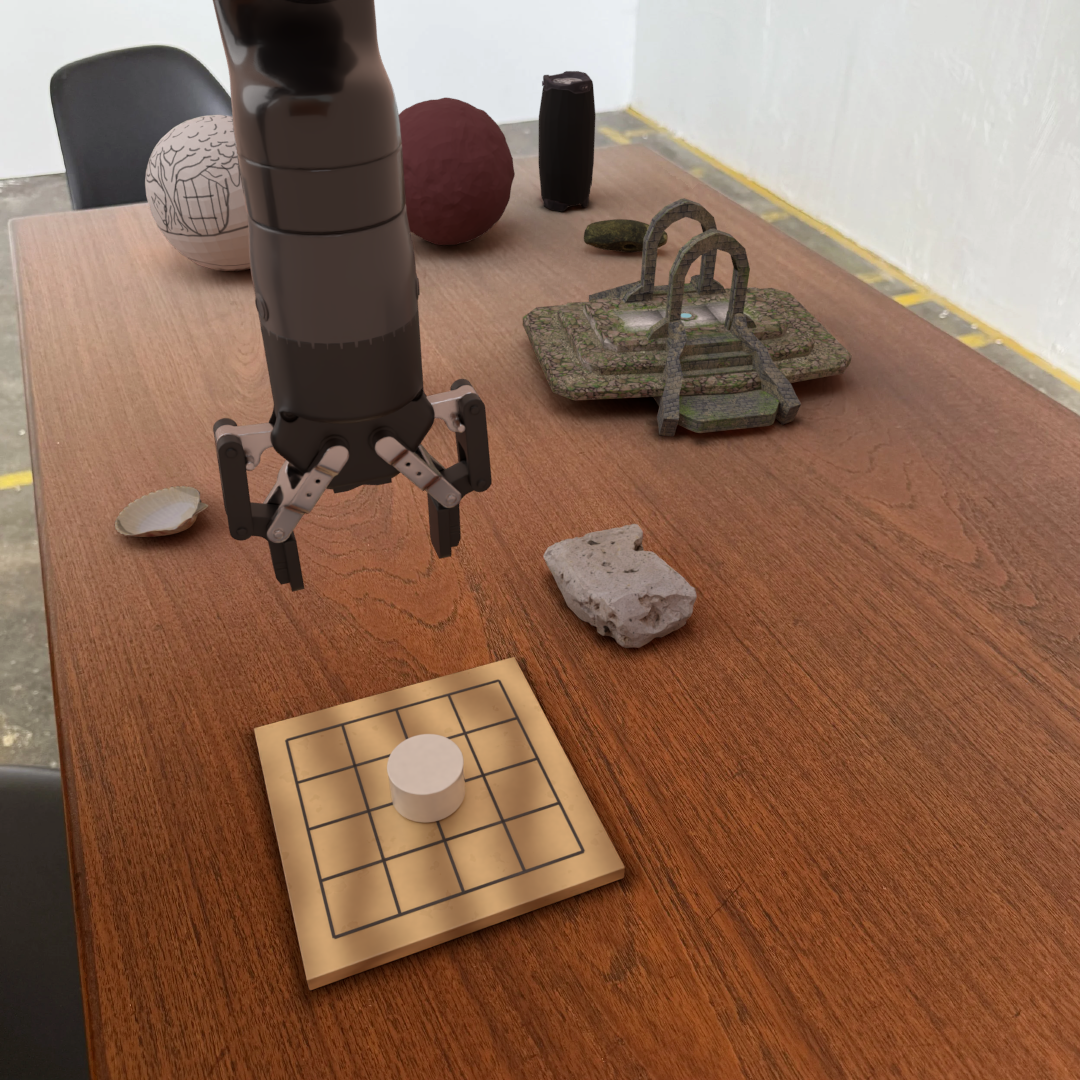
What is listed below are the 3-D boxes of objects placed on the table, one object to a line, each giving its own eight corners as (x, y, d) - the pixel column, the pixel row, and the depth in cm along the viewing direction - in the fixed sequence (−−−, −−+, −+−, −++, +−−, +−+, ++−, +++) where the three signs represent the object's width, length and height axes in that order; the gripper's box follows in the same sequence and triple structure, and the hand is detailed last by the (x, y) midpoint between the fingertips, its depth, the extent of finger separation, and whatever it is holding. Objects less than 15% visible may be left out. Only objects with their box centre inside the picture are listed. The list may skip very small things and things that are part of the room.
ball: (337, 262, 140) (318, 116, 128) (218, 306, 128) (185, 149, 116) (255, 229, 150) (230, 91, 138) (138, 266, 138) (100, 119, 126)
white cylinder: (402, 832, 62) (398, 804, 61) (382, 774, 66) (378, 746, 64) (475, 809, 64) (473, 780, 62) (452, 753, 68) (450, 725, 66)
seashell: (172, 510, 95) (98, 534, 89) (167, 480, 94) (92, 502, 88) (228, 525, 91) (154, 552, 85) (224, 495, 90) (149, 519, 83)
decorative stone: (644, 239, 148) (646, 206, 145) (670, 256, 142) (673, 223, 139) (580, 250, 144) (581, 217, 141) (604, 268, 139) (606, 234, 136)
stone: (613, 536, 89) (525, 582, 84) (618, 489, 85) (526, 535, 80) (714, 625, 81) (624, 681, 77) (725, 578, 77) (631, 634, 73)
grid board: (309, 991, 55) (306, 980, 55) (256, 739, 70) (253, 727, 69) (624, 878, 61) (625, 866, 61) (514, 667, 76) (514, 655, 75)
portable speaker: (530, 209, 158) (529, 80, 146) (553, 192, 165) (554, 67, 153) (578, 216, 155) (582, 85, 143) (599, 199, 162) (605, 72, 150)
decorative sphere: (527, 224, 153) (527, 88, 140) (494, 272, 137) (491, 124, 125) (408, 213, 156) (398, 79, 144) (363, 259, 141) (347, 114, 129)
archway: (570, 456, 100) (575, 290, 89) (510, 317, 126) (509, 175, 115) (881, 421, 106) (923, 262, 95) (763, 295, 132) (784, 159, 121)
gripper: (458, 255, 51) (467, 506, 61) (176, 291, 47) (235, 553, 57) (505, 313, 45) (507, 578, 55) (189, 359, 41) (252, 637, 51)
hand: (369, 565), depth 56 cm, fingers open, 8 cm apart
